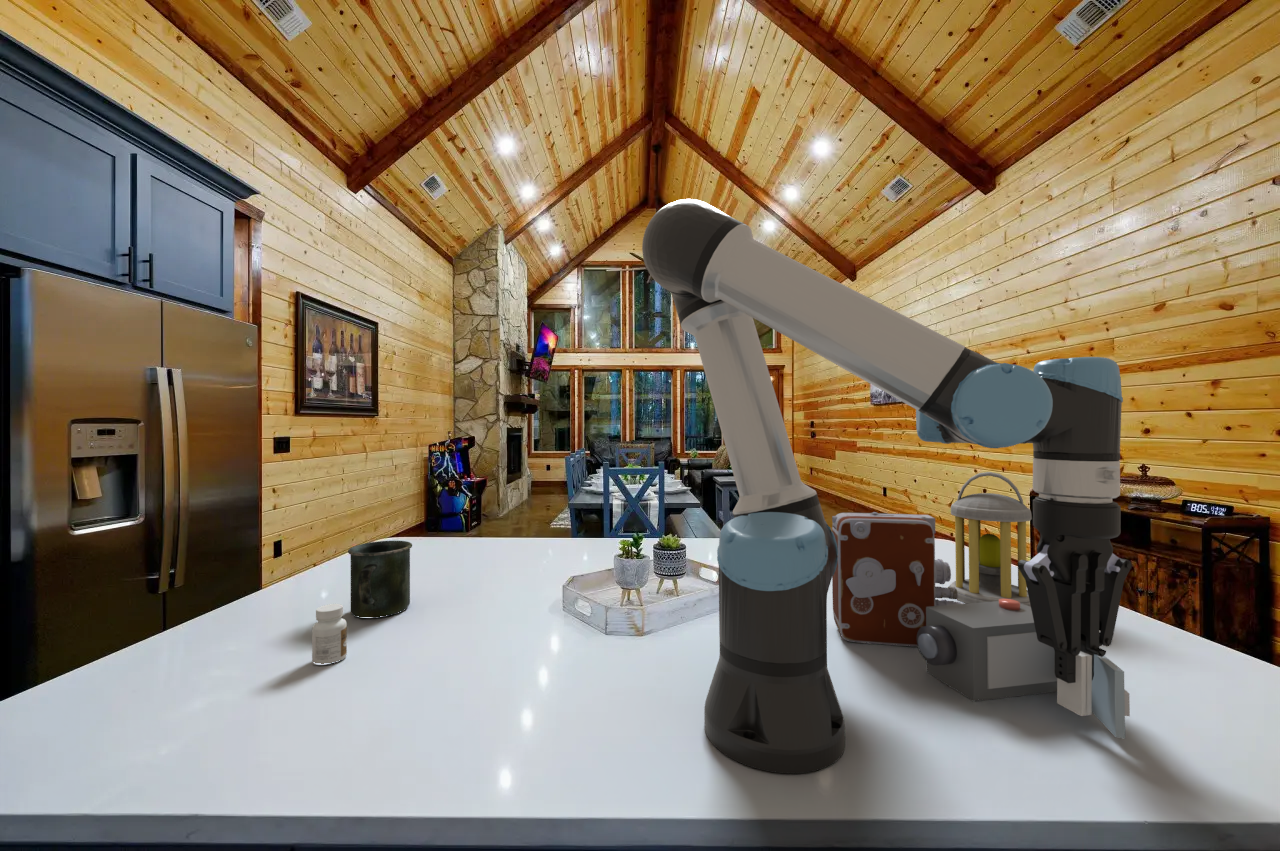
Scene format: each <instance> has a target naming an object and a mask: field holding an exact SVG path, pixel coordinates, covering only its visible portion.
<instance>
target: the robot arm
mask: <svg viewBox="0 0 1280 851" xmlns="http://www.w3.org/2000/svg"><path fill="white" fill-rule="evenodd" d="M642 238H643V239H642V245H641V247H642V248H641V251H642V252H641V253H642V259H643V262H644V265H645V268H646V270H647V271H648V273H649V276H651V277H652V279H653V280H654V281H655V282H656V283H657V284H658V285H660V286H661V288H663V289H665V290H666V291H668V292H669V293H670V294H671V296H672V299H673V303H674V307H675V310H676V314H677V317H678V321H679V324H680V328H681V330H682V331H684V332H686V333H688V334H690V335H692V336H693V337H694V338H695V342H696V346H697V350H698V352H699V356H700V361H701V364H702V368H703V370H704V374H705V377H706V381H707V382H706V383H707V385H708V389H709V391H710V395H711V399H712V402H713V403H712V404H713V406H714V409H715V413H716V414H715V415H716V417H717V420H718V424H719V427H720V432H721V435H722V439H723V443H724V445H725V450H726V452H727V456H728V461H729V462H730V464H729V465H730V468H731V471H732V474H733V478H734V482H735V485H736V489H737V492H738V495H739V498H738V501H737V503H736V504H735V506H734V508H733V510H732V515H733V518H732V519H730V520H729V521H727V522H726V523H724V525H723V526H722V528H721V530H720V532H719V539H718V546H717V550H716V552H717V562H718V563H717V564H718V608H719V609H718V611H719V612H718V614H719V615H718V617H719V619H718V620H719V621H718V622H719V623H718V624H719V625H718V627H719V632H718V633H719V637H718V638H719V657H718V661H717V664H716V667H715V671H714V673H713V676H712V680H711V683H710V686H709V689H708V692H707V695H706V699H705V702H704V707H703V708H704V713H703V714H704V731H705V733H706V737H707V738H708V739H709V741H710V742H711V743H712V745H713V746H714V747H715V748H717V749H718V750H719V752H721V753H722V754H723V755H725V756H726V757H728V758H730V759H732V760H734V761H735V762H738V763H740V764H742V765H745V766H748V767H749V768H750V767H751V768H754V769H757V770H761V771H766V772H772V773H776V774H777V773H778V774H802V773H803V774H804V773H811V772H815V771H818V770H822V769H824V768H827V767H829V766H831V765H832V764H834V763H835V762H837V761H838V760H839V759H840V758H841V756H842V755H843V753H844V751H845V747H846V724H845V718H844V715H843V711H842V708H841V705H840V702H839V698H838V695H837V692H836V690H835V688H834V684H833V681H832V678H831V675H830V672H829V670H828V650H827V649H828V636H827V633H828V627H827V626H828V624H827V623H828V621H827V619H828V618H827V616H828V614H827V612H828V610H827V609H828V608H827V607H828V606H827V605H828V604H827V603H828V600H827V599H828V592H829V589H830V585H831V583H832V577H833V575H834V573H835V570H836V566H837V561H838V557H837V556H838V548H837V542H836V539H835V536H834V534H833V532H832V527H830V526H829V525H828V523H827V521H826V519H825V516H824V512H823V509H822V506H821V503H820V501H819V497H818V493H817V491H816V490H815V489H813V488H812V487H811V486H809V485H807V484H806V483H804V482H803V481H802V480H801V476H800V472H799V469H798V466H797V462H796V460H795V456H794V453H793V449H792V446H791V443H790V439H789V435H788V432H787V428H786V426H785V422H784V419H783V415H782V412H781V409H780V405H779V402H778V399H777V395H776V392H775V389H774V385H773V382H772V379H771V378H772V377H771V374H770V371H769V367H768V365H767V361H766V357H765V354H764V352H763V348H762V345H761V341H760V338H759V334H758V331H757V327H756V324H755V321H754V319H755V320H756V321H758V322H760V323H762V324H763V325H765V326H767V327H769V328H771V329H772V330H774V331H776V332H777V333H779V334H781V335H783V336H785V337H787V338H788V339H790V340H792V341H794V342H796V344H799V345H801V346H803V347H804V348H806V349H808V350H810V351H811V352H813V353H816V354H817V355H819V356H820V357H822V358H824V359H826V360H828V361H829V362H831V363H832V364H834V365H837V366H838V367H840V368H842V369H843V370H845V371H847V372H848V373H850V374H853V375H854V376H856V377H857V378H860V379H861V380H863V381H865V382H867V383H868V384H870V385H872V386H874V387H876V388H877V389H880V390H881V391H883V392H884V393H886V394H888V395H890V397H893V398H896V399H897V400H899V401H900V402H902V403H904V404H905V405H907V406H910V407H911V408H913V409H915V420H916V422H915V423H916V424H915V427H916V428H915V429H916V434H917V437H918V438H919V440H920V441H923V442H927V443H930V442H931V443H941V444H947V445H948V444H953V443H954V444H955V443H956V444H974V445H978V446H980V447H984V448H988V449H1001V448H1010V447H1013V446H1016V445H1019V444H1021V445H1022V444H1023V445H1025V444H1032V449H1033V451H1032V452H1033V453H1032V490H1033V491H1034V492H1035V493H1037V494H1038V496H1035V498H1034V499H1032V524H1033V525H1032V526H1033V527H1034V528H1035V529H1036V530H1037V531H1038V532H1039V534H1040V535H1039V536H1040V537H1039V538H1040V539H1039V541H1038V544H1037V546H1036V553H1037V554H1036V555H1035V556H1033V557H1032V558H1031V559H1030V560H1027V559H1026V560H1020V561H1019V562H1018V561H1017V569H1018V568H1019V570H1020V572H1021V573H1022V575H1023V577H1024V579H1025V581H1026V586H1027V590H1028V595H1029V600H1030V605H1031V610H1032V615H1033V620H1034V624H1035V629H1036V634H1037V639H1038V641H1039V642H1042V643H1044V644H1046V645H1048V646H1051V647H1053V648H1054V651H1055V676H1056V677H1057V693H1056V704H1057V705H1060V706H1061V707H1064V708H1065V709H1067V710H1069V711H1071V712H1073V713H1075V714H1076V715H1078V716H1080V717H1085V716H1092V714H1093V713H1092V680H1093V677H1094V654H1095V655H1098V656H1100V657H1103V656H1106V654H1107V650H1105V649H1103V648H1101V647H1102V646H1104V647H1110V646H1111V645H1112V642H1113V637H1114V633H1115V628H1116V623H1117V617H1118V613H1119V610H1120V609H1119V608H1120V603H1121V598H1122V593H1123V588H1124V585H1125V584H1124V583H1125V580H1126V579H1127V576H1128V574H1129V573H1130V571H1131V569H1132V564H1133V563H1132V562H1131V561H1130V560H1129V559H1125V558H1121V557H1119V556H1117V555H1116V554H1115V553H1113V552H1114V547H1113V545H1112V542H1111V539H1115V538H1118V537H1119V536H1120V535H1121V522H1122V521H1121V514H1122V513H1121V511H1122V510H1121V509H1122V508H1121V505H1119V503H1118V502H1116V501H1113V499H1117V498H1118V497H1120V496H1121V436H1122V435H1121V434H1122V432H1121V431H1122V408H1123V407H1122V403H1123V402H1124V399H1123V398H1124V397H1123V395H1122V381H1121V380H1122V379H1121V373H1120V366H1119V365H1118V363H1117V362H1116V361H1115V360H1113V359H1111V358H1108V357H1100V356H1082V357H1081V356H1080V357H1068V358H1067V357H1066V358H1054V359H1046V360H1041V361H1039V362H1036V363H1035V364H1034V367H1033V370H1032V369H1030V368H1027V367H1025V366H1022V365H1017V364H1012V363H1006V362H1003V363H1002V362H1001V363H1000V362H996V361H995V360H992V359H991V358H989V357H987V356H985V355H983V354H982V353H981V354H980V353H979V352H976V351H974V350H973V349H970V348H968V347H965V345H962V344H961V343H959V342H957V341H955V340H953V339H951V338H950V337H947V336H945V335H943V334H942V333H940V332H937V331H935V330H933V329H932V328H929V327H927V326H925V325H923V324H922V323H919V322H917V321H916V320H914V319H912V318H910V317H907V316H906V315H904V314H902V313H900V312H898V311H896V310H894V309H892V308H890V307H888V306H886V305H884V304H882V303H880V302H878V301H876V300H875V299H872V298H870V297H868V296H866V295H864V294H863V293H860V292H858V291H857V290H854V289H852V288H851V287H850V286H847V285H845V284H842V283H841V282H839V281H837V280H835V279H833V278H830V277H829V276H827V275H825V274H823V273H821V272H819V271H817V270H816V269H813V268H811V267H809V266H807V265H805V264H804V263H801V262H799V261H797V260H795V259H793V258H792V257H789V256H788V255H786V254H784V253H782V252H780V251H778V250H776V249H774V248H772V247H771V246H768V245H766V244H763V243H762V242H761V241H758V240H755V239H754V235H753V231H752V229H751V227H750V226H749V225H747V224H746V223H744V222H742V221H740V220H737V219H736V218H734V217H732V216H730V215H728V214H727V213H725V212H723V211H721V210H720V209H718V208H716V207H715V206H713V205H711V204H709V203H708V202H705V201H702V200H699V199H695V198H694V199H693V198H692V199H691V198H686V199H685V198H684V199H678V200H676V201H673V202H672V201H671V202H670V203H668V204H666V205H664V206H663V207H661V208H659V210H658V211H657V212H655V214H654V215H653V216H652V217H651V219H650V220H649V222H648V223H647V226H646V228H645V230H644V233H643V237H642Z"/></svg>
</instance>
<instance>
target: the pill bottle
mask: <svg viewBox="0 0 1280 851" xmlns="http://www.w3.org/2000/svg"><path fill="white" fill-rule="evenodd" d="M343 615H344V606H343V605H342V604H340V603H331V604H324V605H322V606H318V607H317V608H316V609H315V620H316V621H317V622H316V623H314V624H313V626H312V628H311V629H312V630H311V631H312V632H311V637H312V638H311V639H312V640H311V641H312V644H311V645H312V646H311V660H312V661H313V662H315V663H321V664H324V663H332V662H336V661H339V660H342V659H343V658H344V659H346V658H347V656H348V654H347V653H348V652H347V651H348V649H347V647H348V646H347V643H348V642H347V637H348V636H347V634H348V631H347V629H348V626H347V625H348V623H347V620H346V619H345V618H342V617H343ZM346 655H347V656H346ZM344 659H343V660H344ZM343 660H342V661H343ZM312 661H311V662H312ZM313 662H312V663H313Z"/></svg>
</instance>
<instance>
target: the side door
mask: <svg viewBox="0 0 1280 851" xmlns="http://www.w3.org/2000/svg"><path fill="white" fill-rule="evenodd" d="M1130 702H1131V701H1130V693H1129V692H1128V690H1126V688H1125V671H1124V670H1123V669H1122V668H1120V667H1119V666H1118V665H1117V664H1115V663H1114V662H1113V661H1112V660H1110V659H1109V658H1108V657H1107V656H1106V655H1104V656H1103V657H1100V656H1098V655H1095V654H1094V677H1093V680H1092V714H1093V715H1094V716H1095V717H1096V719H1098V720H1099V721H1100V722H1101V723H1102V724H1103V725H1104V727H1106V729H1107V730H1108V731H1109V732H1110V733H1111V734H1112V735H1113V736H1114V737H1115V738H1119V739H1126V717H1130V716H1131V714H1130V709H1131V708H1130V705H1131V704H1130Z"/></svg>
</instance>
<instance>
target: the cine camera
mask: <svg viewBox="0 0 1280 851" xmlns="http://www.w3.org/2000/svg"><path fill="white" fill-rule="evenodd" d="M831 518H832V519H831V520H832V527H831V531H832V532H833V534H834V536H835V539H836V542H837V548H838V556H837V557H838V561H837V566H836V570H835V573H834V575H833V577H832V579H831V583H832V611H833V612H832V613H833V619H834V622H835V626H836V628H837V629H838V633H839V634H840V636H841V638H842V639H843V640H845V641H847V642H850V643H858V644H859V643H860V644H873V645H885V646H902V647H915V648H916V647H917V648H918V645H917V632H918V630H919V629H920V628H921V627H923V626H926V607H929V606H942V605H955V604H965V603H963V602H961V601H953V600H956V599H957V598H958V592H957V589H956V588H955V587H949V586H947V587H943V586H936V584H939V585H945V583H946V582H947V583H948V582H950V581H951V578H952V571H951V570H952V569H951V566H950V564H949V562H946V561H945V562H944V560H943V559H941V558H937V559H936V551H935V550H936V546H935V545H936V543H935V534H936V517H933V516H931V515H929V514H911V513H910V514H908V513H888V512H887V513H882V512H881V513H878V512H876V511H873V512H840V513H837V514H836V515H832V517H831ZM939 599H941V600H939ZM948 599H950V600H948Z"/></svg>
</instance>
